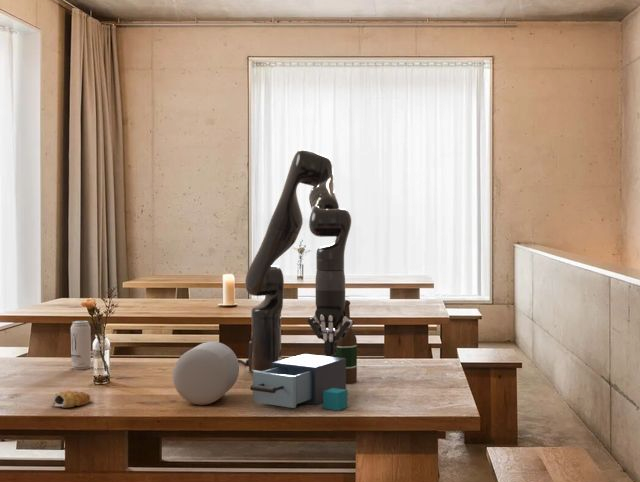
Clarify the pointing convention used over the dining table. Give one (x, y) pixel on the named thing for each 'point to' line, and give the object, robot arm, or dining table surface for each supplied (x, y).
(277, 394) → the drawer
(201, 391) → the grey rounded piece
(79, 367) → the energy drink can
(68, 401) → the pastry
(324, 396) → the teal cube block
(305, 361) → the cabinet
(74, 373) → the dining table surface
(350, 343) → the beer bottle
